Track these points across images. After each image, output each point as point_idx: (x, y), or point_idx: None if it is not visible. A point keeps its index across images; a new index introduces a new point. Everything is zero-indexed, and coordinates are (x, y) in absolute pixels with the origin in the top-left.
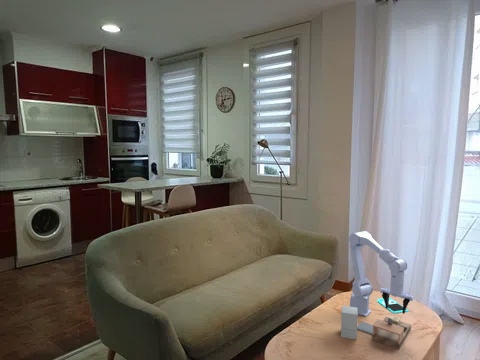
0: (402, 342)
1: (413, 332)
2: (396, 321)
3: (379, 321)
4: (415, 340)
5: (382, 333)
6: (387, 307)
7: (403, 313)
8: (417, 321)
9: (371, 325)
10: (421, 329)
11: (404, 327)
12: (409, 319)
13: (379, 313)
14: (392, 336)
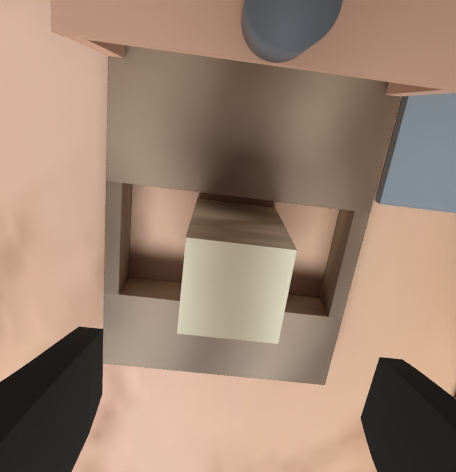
0: None
1: (81, 290)
2: (207, 239)
3: (451, 12)
4: (33, 162)
5: None
6: (389, 377)
7: (86, 329)
8: (93, 459)
9: (440, 194)
10: None
11: (147, 293)
12: (150, 459)
13: None
14: None
